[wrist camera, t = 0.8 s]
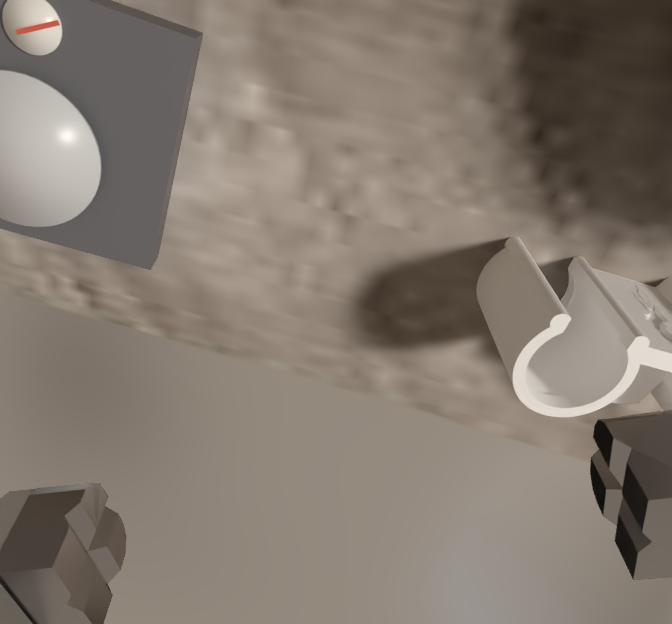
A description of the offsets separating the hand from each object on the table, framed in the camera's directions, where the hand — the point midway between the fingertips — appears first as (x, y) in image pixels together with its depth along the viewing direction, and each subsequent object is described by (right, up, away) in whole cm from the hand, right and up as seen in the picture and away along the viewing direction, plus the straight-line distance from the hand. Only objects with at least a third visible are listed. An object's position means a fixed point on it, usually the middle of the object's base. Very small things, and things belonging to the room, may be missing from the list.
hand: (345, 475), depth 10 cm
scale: (-22, +17, +34) cm, 44 cm away
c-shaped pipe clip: (+24, +3, +44) cm, 50 cm away
